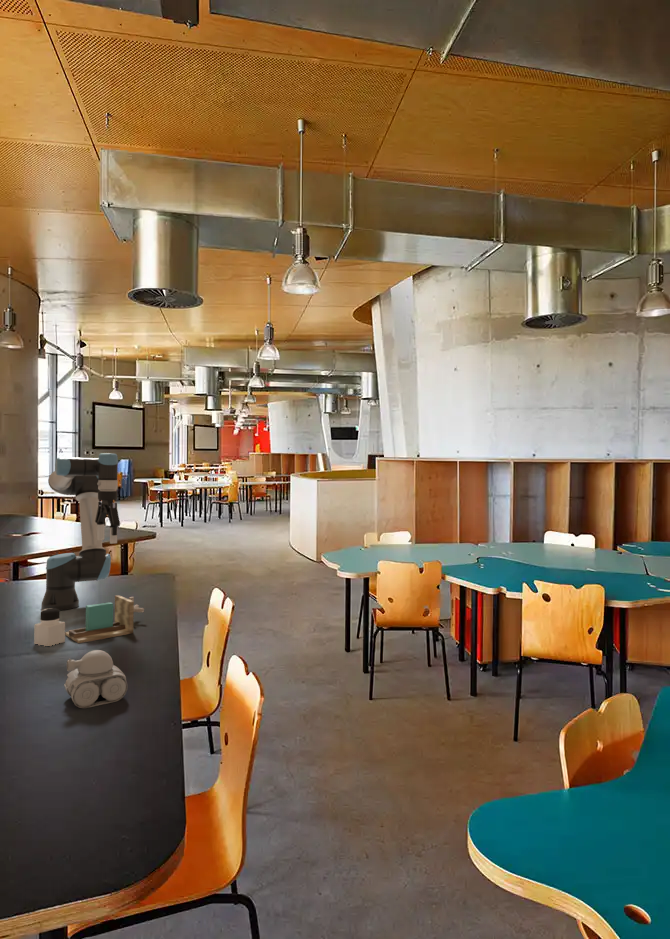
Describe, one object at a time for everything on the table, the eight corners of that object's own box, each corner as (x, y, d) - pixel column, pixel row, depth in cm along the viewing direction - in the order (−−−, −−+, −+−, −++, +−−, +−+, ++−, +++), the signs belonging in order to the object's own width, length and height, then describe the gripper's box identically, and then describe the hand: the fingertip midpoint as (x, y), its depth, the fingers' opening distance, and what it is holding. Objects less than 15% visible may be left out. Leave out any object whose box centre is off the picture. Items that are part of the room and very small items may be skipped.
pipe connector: (148, 619, 239) (148, 595, 239) (137, 625, 229) (137, 600, 229) (124, 618, 240) (125, 594, 240) (113, 624, 230) (113, 599, 230)
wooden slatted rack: (65, 634, 215) (65, 602, 215) (118, 625, 229) (118, 595, 229) (78, 643, 205) (78, 609, 205) (133, 633, 218) (133, 601, 218)
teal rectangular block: (85, 632, 215) (85, 605, 215) (109, 628, 221) (110, 602, 221) (88, 634, 213) (88, 607, 213) (112, 630, 219) (113, 603, 219)
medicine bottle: (65, 642, 206) (65, 608, 206) (47, 647, 200) (48, 612, 200) (51, 639, 209) (51, 606, 209) (33, 644, 203) (34, 610, 203)
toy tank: (68, 712, 147) (69, 661, 147) (60, 698, 156) (61, 650, 156) (129, 699, 156) (129, 651, 156) (118, 687, 164) (119, 641, 164)
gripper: (87, 489, 247) (86, 539, 247) (110, 491, 229) (109, 545, 229) (105, 489, 252) (104, 538, 252) (129, 491, 234) (128, 544, 234)
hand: (107, 541), depth 240 cm, fingers open, 13 cm apart
